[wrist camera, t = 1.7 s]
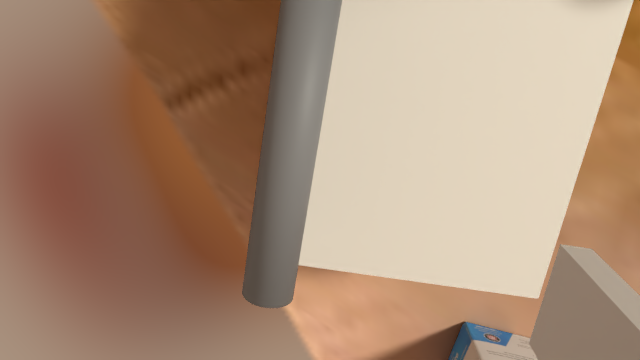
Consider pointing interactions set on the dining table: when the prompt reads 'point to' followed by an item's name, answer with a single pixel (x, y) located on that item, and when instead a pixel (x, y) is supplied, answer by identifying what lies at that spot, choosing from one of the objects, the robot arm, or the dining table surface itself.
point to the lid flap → (426, 139)
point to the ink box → (490, 345)
